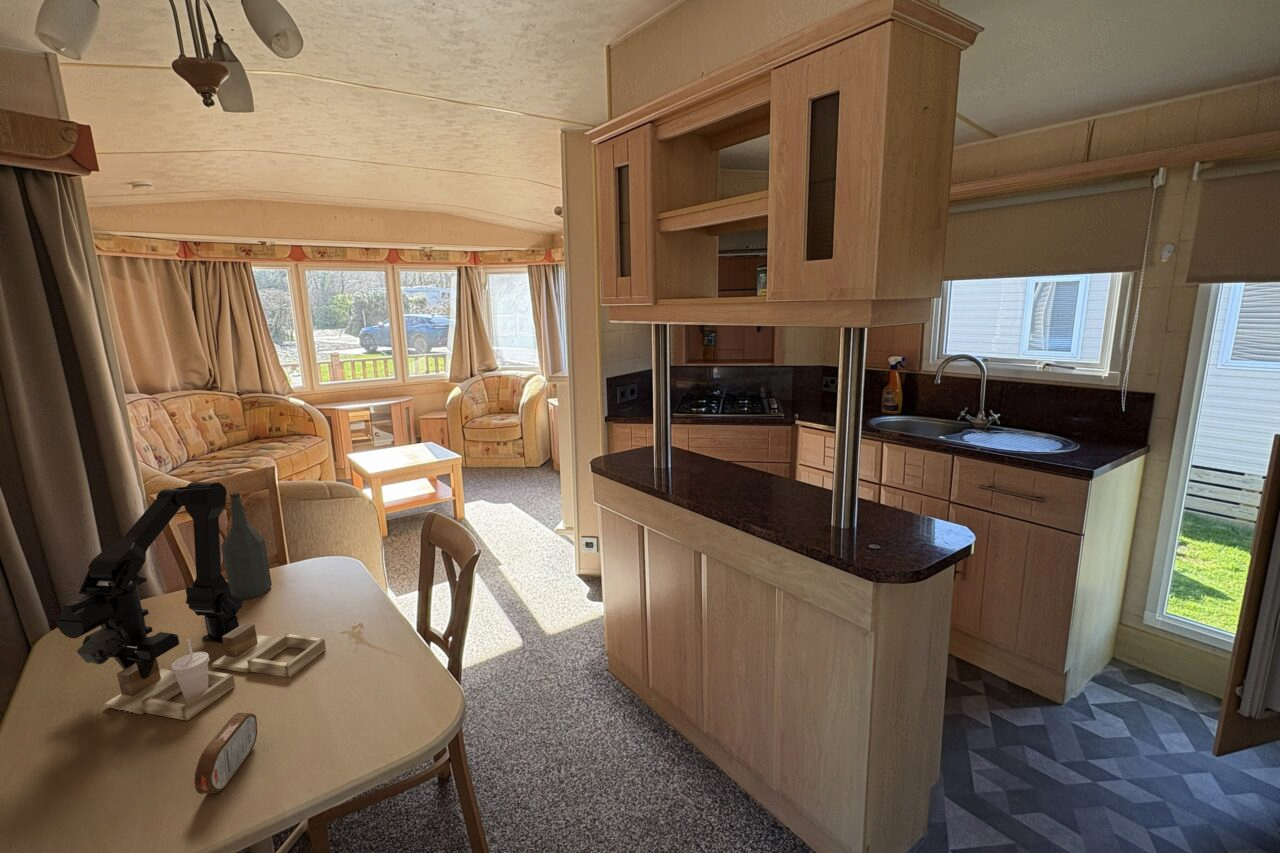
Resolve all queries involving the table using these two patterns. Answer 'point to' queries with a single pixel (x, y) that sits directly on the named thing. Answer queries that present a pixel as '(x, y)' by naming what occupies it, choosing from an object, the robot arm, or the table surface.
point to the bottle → (245, 556)
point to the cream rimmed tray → (164, 692)
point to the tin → (226, 753)
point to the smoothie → (191, 673)
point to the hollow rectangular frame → (265, 651)
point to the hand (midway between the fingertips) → (139, 677)
